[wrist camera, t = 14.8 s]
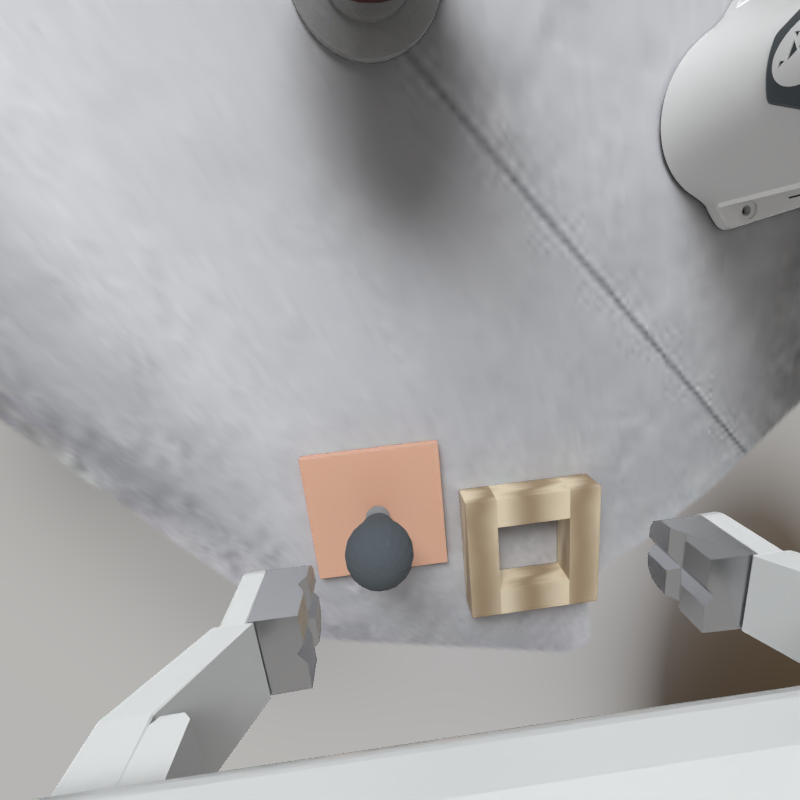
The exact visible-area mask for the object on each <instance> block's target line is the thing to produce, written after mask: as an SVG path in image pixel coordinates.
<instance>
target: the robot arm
mask: <svg viewBox="0 0 800 800" xmlns="http://www.w3.org/2000/svg"><path fill="white" fill-rule="evenodd" d="M661 141H662V147H663V152H664V156H665V159H666V162H667V164H668V167H669V169H670V171H671V173H672V174H673V176H674V178H675V179H676V180H677V182H678V183H679V184H680V185H681V186H682V187H683V188H684V189H685V190H686V191H687V192H688V193H690V194H691V195H693V196H694V197H695V198H697V199H698V200H700V201H701V202H702V203H703V204H704V205H705V206H706V208H707V210H708V212H709V214H710V216H711V218H712V220H713V221H714V223H715V224H716V226H717V227H718V228H720V229H722V230H729V229H733V228H736V227H739V226H742V225H746V224H749V223H752V222H755V221H758V220H761V219H765V218H768V217H771V216H774V215H777V214H780V213H784V212H787V211H790V210H793V209H796V208H800V0H733V1H732V3H731V4H730V6H729V8H728V9H727V11H726V13H725V15H724V16H723V18H722V19H721V20H720V22H719V23H718V24H717V25H716V26H715V27H713V28H712V29H711V30H710V31H709V32H707V33H706V34H705V35H704V36H703V37H702V38H700V39H699V40H698V41H697V42H696V43H695V44H694V45H693V47H692V48H691V49H690V50H689V51H688V53H687V54H686V55H685V57H684V58H683V59H682V61H681V62H680V64H679V66H678V67H677V69H676V71H675V73H674V75H673V77H672V79H671V82H670V84H669V87H668V89H667V92H666V96H665V99H664V104H663V109H662V116H661ZM743 209H744V214H742V210H743ZM649 537H650V538H651V539H652V540H653V542H654V543H655V544H654V546H653V547H652V548H651V550H650V551H649V552H648V567H649V570H650V574H651V577H652V579H653V580H654V582H655V583H656V585H657V586H658V588H659V589H660V590H661V591H662V592H663V593H664V594H665V595H667V596H670V597H671V598H674V599H676V600H678V601H679V610H680V611H681V612H682V613H684V615H685V616H686V617H687V618H688V619H689V620H690V621H691V622H692V623H693V624H694V625H695V626H696V627H697V628H698V629H699V630H700V631H701V632H702V633H706V632H715V631H724V630H733V629H742V631H743V632H745V633H747V634H749V635H751V636H752V637H754V638H756V639H758V640H759V641H761V642H763V643H765V644H767V645H768V646H770V647H772V648H774V649H776V650H777V651H779V652H781V653H783V654H785V655H786V656H788V657H790V658H792V659H793V660H795V661H797V662H799V663H800V553H798V552H794V551H790V550H788V551H782V550H781V549H779V548H778V547H776V546H774V545H773V544H771V543H769V542H768V541H766V540H765V539H763V538H762V537H760V536H758V535H757V534H755V533H754V532H752V531H750V530H749V529H747V528H745V527H744V526H742V525H741V524H739V523H738V522H736V521H735V520H733V519H731V518H730V517H728V516H726V515H725V514H723V513H719V512H709V513H703V514H696V515H694V516H687V517H680V518H673V519H666V520H658V521H653V523H652V525H651V527H650V534H649ZM315 581H316V580H315V575H314V571H313V568H312V566H311V565H309V566H300V567H291V568H282V569H272V570H268V571H267V570H264V571H256V572H248V573H246V574H245V575H243V577H242V579H241V581H240V583H239V585H238V587H237V589H236V592H235V594H234V596H233V598H232V601H231V603H230V605H229V607H228V609H227V612H226V614H225V616H224V618H223V620H222V622H221V624H220V627H217V628H212V629H211V630H210V631H208V632H207V633H206V634H205V635H204V636H202V637H201V638H200V639H199V640H198V641H196V642H195V643H194V644H192V645H191V646H190V647H189V648H188V649H186V650H185V651H184V652H183V653H182V654H180V655H179V656H178V657H177V658H175V659H174V660H173V661H172V662H171V663H169V664H168V665H167V666H166V667H165V668H163V669H162V670H161V671H160V672H158V673H157V674H156V675H155V676H154V677H152V678H151V679H150V680H149V681H147V682H146V683H145V684H144V685H143V686H141V687H140V688H139V689H138V690H137V691H135V692H134V693H133V694H132V695H131V696H129V697H128V698H127V699H126V700H124V701H123V702H122V703H121V704H119V705H118V706H117V707H116V708H115V709H114V710H112V711H111V712H110V713H109V714H107V715H106V716H105V717H104V718H102V719H101V720H100V721H99V722H98V723H97V724H96V726H95V727H94V729H93V731H92V732H91V734H90V735H89V737H88V738H87V740H86V741H85V743H84V745H83V746H82V748H81V750H80V751H79V753H78V754H77V756H76V757H75V759H74V760H73V762H72V763H71V765H70V767H69V768H68V770H67V771H66V773H65V774H64V776H63V778H62V779H61V781H60V782H59V784H58V785H57V787H56V788H55V790H54V792H53V793H52V795H51V796H50V797H45V798H38V799H32V800H800V686H796V687H788V688H781V689H774V690H768V691H761V692H754V693H747V694H740V695H733V696H727V697H720V698H713V699H706V700H699V701H692V702H685V703H679V704H672V705H665V706H658V707H652V708H645V709H638V710H631V711H624V712H618V713H611V714H604V715H598V716H591V717H584V718H577V719H571V720H565V721H557V722H551V723H544V724H537V725H530V726H524V727H517V728H511V729H504V730H497V731H491V732H484V733H477V734H470V735H464V736H457V737H450V738H443V739H436V740H430V741H423V742H417V743H409V744H403V745H396V746H389V747H382V748H376V749H369V750H362V751H355V752H349V753H342V754H335V755H328V756H322V757H315V758H309V759H302V760H295V761H289V762H281V763H275V764H268V765H261V766H254V767H248V768H241V769H234V770H227V771H221V772H218V771H219V769H220V768H221V766H222V765H223V764H224V762H225V761H226V760H227V758H228V757H229V755H230V754H231V753H232V751H233V750H234V748H235V747H236V746H237V744H238V743H239V741H240V740H241V739H242V737H243V736H244V735H245V733H246V732H247V731H248V729H249V728H250V726H251V725H252V724H253V722H254V721H255V720H256V718H257V717H258V715H259V714H260V713H261V711H262V710H263V708H264V707H265V705H266V704H267V703H268V702H269V700H270V699H271V695H275V694H281V693H287V692H293V691H299V690H303V689H310V688H312V687H313V681H314V674H315V668H316V662H317V658H316V653H315V646H316V645H317V644H318V643H319V641H320V634H321V609H320V602H319V597H318V596H317V595H316V594H315V593H314V587H315Z"/></svg>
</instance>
